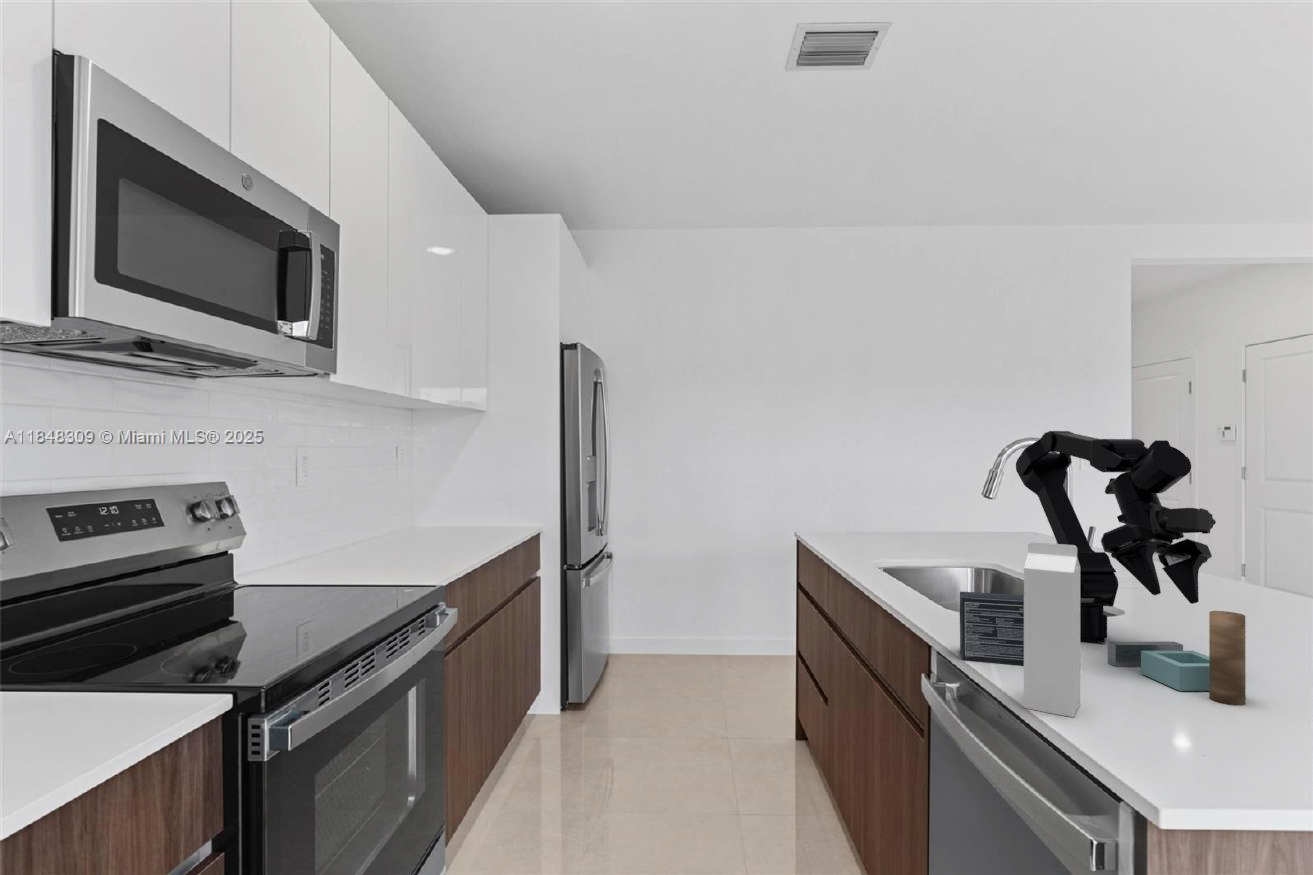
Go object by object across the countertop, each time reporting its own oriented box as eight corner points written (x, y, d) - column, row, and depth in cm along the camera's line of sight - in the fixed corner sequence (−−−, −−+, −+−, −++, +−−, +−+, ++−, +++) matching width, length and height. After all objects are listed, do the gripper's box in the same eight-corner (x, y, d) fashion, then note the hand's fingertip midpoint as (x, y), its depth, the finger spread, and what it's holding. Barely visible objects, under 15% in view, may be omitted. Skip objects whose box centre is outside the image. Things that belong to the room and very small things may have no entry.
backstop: (1107, 663, 122) (1107, 641, 123) (1174, 663, 123) (1174, 641, 123) (1115, 666, 120) (1115, 644, 121) (1183, 666, 121) (1183, 644, 121)
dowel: (1212, 702, 104) (1212, 615, 104) (1206, 694, 107) (1206, 609, 108) (1248, 707, 102) (1248, 618, 102) (1241, 698, 106) (1241, 612, 106)
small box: (1026, 656, 126) (1027, 593, 127) (1032, 667, 120) (1032, 601, 120) (959, 650, 130) (959, 589, 130) (961, 660, 124) (961, 596, 124)
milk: (1032, 696, 106) (1031, 539, 106) (1081, 706, 102) (1080, 543, 103) (1023, 708, 101) (1022, 543, 101) (1074, 718, 97) (1073, 547, 98)
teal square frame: (1141, 673, 117) (1141, 650, 117) (1193, 673, 117) (1193, 650, 117) (1179, 690, 108) (1179, 666, 108) (1235, 690, 109) (1235, 666, 109)
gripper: (1150, 473, 114) (1190, 571, 105) (1224, 497, 121) (1267, 590, 113) (1085, 503, 122) (1117, 596, 114) (1158, 524, 129) (1193, 613, 121)
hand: (1176, 598), depth 115 cm, fingers open, 9 cm apart
